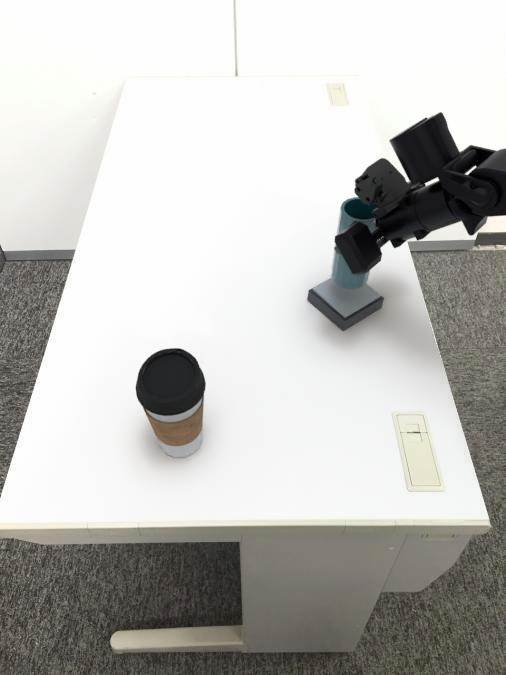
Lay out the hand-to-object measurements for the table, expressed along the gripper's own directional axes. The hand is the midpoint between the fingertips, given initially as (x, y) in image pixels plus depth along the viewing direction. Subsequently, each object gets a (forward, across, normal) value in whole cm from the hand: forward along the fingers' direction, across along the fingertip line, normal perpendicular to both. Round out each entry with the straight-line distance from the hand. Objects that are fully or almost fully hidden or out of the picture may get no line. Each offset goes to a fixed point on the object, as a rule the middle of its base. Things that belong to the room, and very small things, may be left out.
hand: (348, 240), depth 82 cm
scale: (+8, 0, +10) cm, 13 cm away
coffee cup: (+9, +37, +10) cm, 39 cm away
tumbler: (+4, 0, +6) cm, 7 cm away
